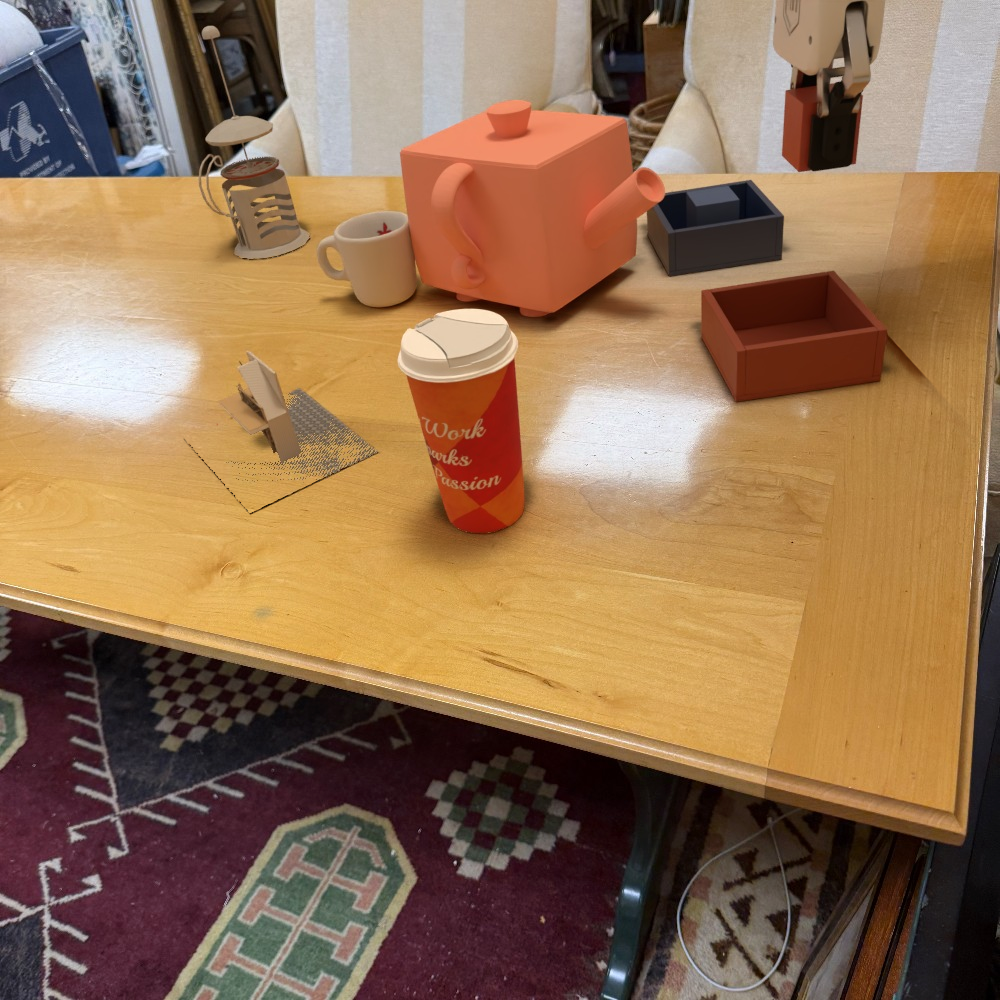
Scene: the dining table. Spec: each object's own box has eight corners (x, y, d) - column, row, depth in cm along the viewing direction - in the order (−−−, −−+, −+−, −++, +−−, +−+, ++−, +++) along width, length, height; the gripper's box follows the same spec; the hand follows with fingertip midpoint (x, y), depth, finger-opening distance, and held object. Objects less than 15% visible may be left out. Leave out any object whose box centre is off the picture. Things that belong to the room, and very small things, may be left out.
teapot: (722, 266, 92) (725, 77, 81) (595, 366, 79) (579, 158, 68) (528, 233, 106) (509, 69, 95) (394, 313, 93) (354, 134, 83)
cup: (315, 315, 96) (295, 242, 91) (343, 283, 102) (325, 213, 97) (411, 313, 93) (395, 238, 88) (434, 280, 99) (420, 208, 94)
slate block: (727, 231, 97) (728, 185, 94) (738, 247, 94) (739, 199, 91) (686, 238, 98) (686, 191, 95) (696, 253, 94) (695, 206, 91)
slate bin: (749, 220, 100) (751, 179, 98) (781, 259, 91) (784, 215, 89) (647, 235, 101) (646, 195, 98) (669, 276, 92) (668, 233, 89)
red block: (836, 148, 73) (842, 81, 70) (856, 164, 70) (863, 95, 67) (781, 155, 73) (785, 90, 70) (798, 172, 70) (803, 103, 67)
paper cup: (411, 516, 65) (368, 342, 57) (487, 465, 69) (458, 295, 61) (485, 560, 60) (451, 376, 52) (563, 502, 64) (543, 322, 56)
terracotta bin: (829, 318, 80) (834, 270, 78) (880, 380, 71) (887, 329, 69) (701, 337, 81) (701, 290, 78) (735, 402, 72) (737, 351, 69)
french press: (326, 236, 114) (269, 16, 100) (250, 271, 108) (177, 42, 93) (281, 224, 120) (222, 15, 106) (207, 256, 114) (132, 39, 99)
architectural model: (264, 471, 73) (235, 390, 68) (232, 438, 78) (203, 361, 73) (302, 453, 74) (277, 373, 70) (268, 422, 79) (242, 345, 74)
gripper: (750, -119, 67) (742, 135, 78) (826, -106, 54) (804, 200, 65) (852, -135, 67) (830, 123, 78) (954, -125, 54) (910, 185, 64)
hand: (818, 155), depth 71 cm, fingers closed on red block, 4 cm apart
